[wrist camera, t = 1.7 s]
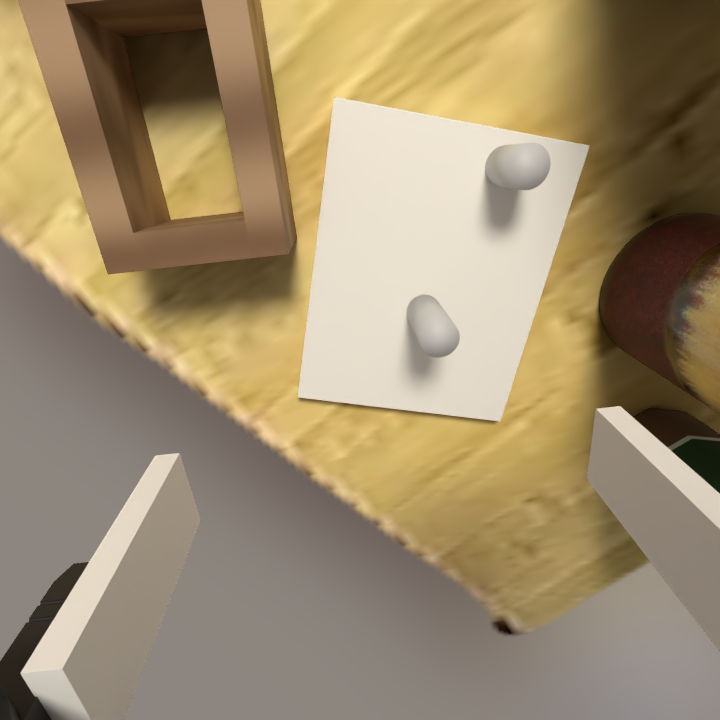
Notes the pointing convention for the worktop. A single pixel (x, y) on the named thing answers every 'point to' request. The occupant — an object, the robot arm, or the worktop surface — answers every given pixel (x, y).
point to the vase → (670, 302)
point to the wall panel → (430, 259)
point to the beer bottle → (686, 441)
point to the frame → (130, 136)
